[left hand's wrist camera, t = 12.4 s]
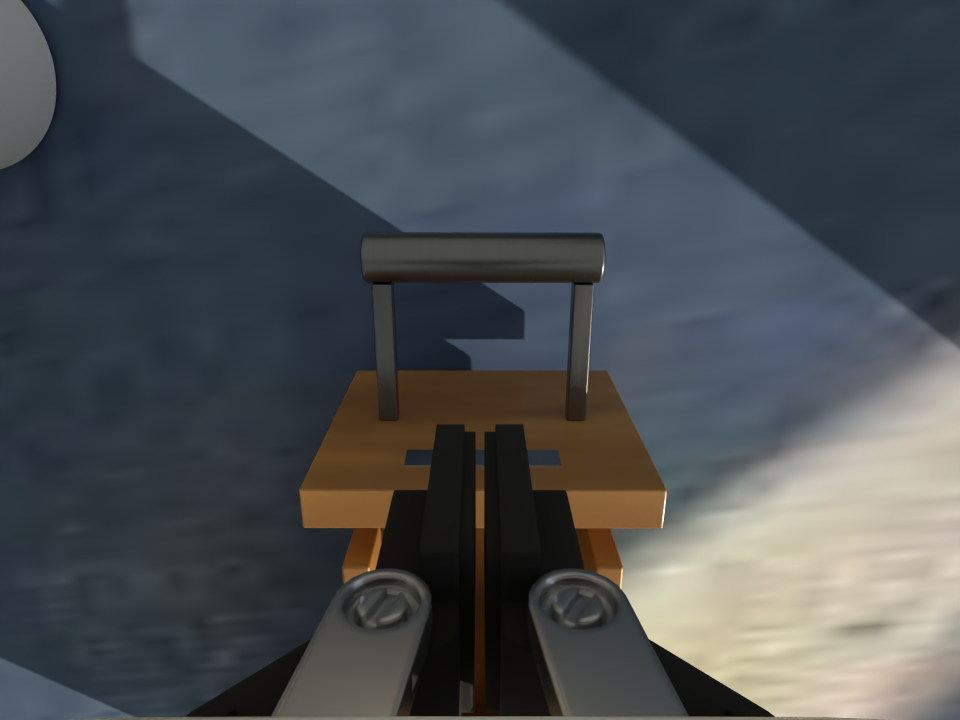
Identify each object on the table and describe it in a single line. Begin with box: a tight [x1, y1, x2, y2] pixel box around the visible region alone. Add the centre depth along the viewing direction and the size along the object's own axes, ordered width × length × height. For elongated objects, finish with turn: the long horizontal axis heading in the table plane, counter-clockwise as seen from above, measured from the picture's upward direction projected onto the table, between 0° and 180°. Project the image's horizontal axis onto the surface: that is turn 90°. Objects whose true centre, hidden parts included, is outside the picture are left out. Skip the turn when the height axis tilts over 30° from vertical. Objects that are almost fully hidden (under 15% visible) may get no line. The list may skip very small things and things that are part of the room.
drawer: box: [299, 232, 667, 716], centre depth 23 cm, size 22×10×9 cm, turn 0°
